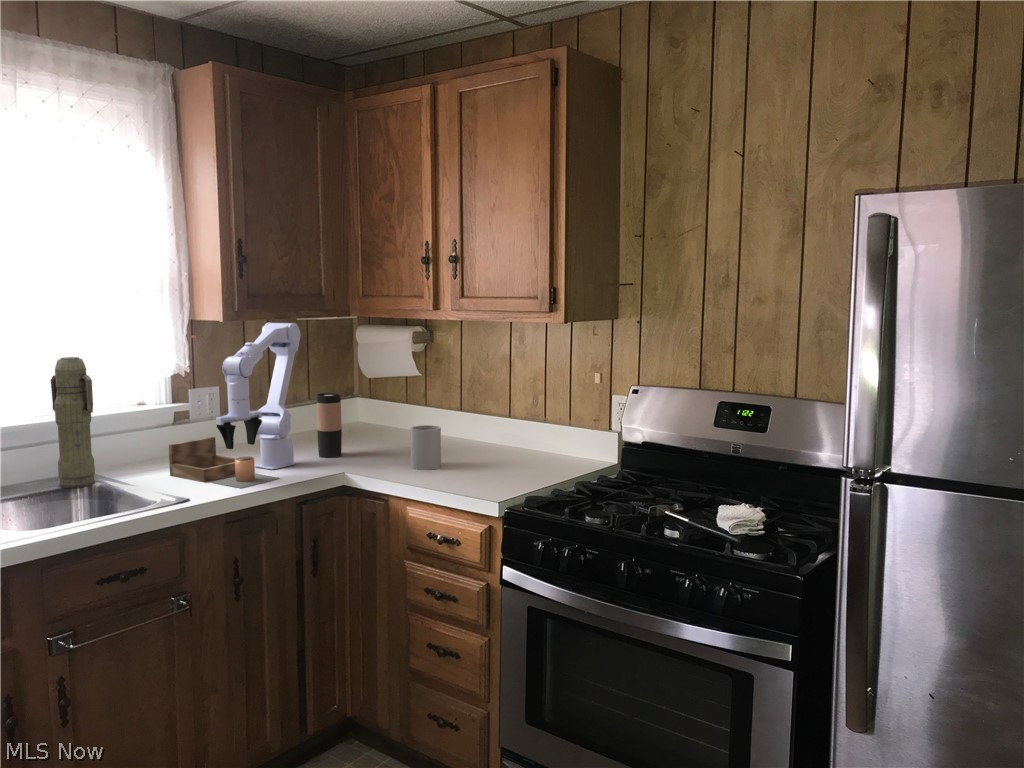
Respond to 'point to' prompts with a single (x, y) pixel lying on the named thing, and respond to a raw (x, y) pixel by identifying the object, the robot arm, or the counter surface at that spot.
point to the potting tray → (199, 461)
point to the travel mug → (329, 425)
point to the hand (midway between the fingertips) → (240, 446)
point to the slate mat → (234, 483)
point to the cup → (425, 447)
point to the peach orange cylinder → (244, 469)
